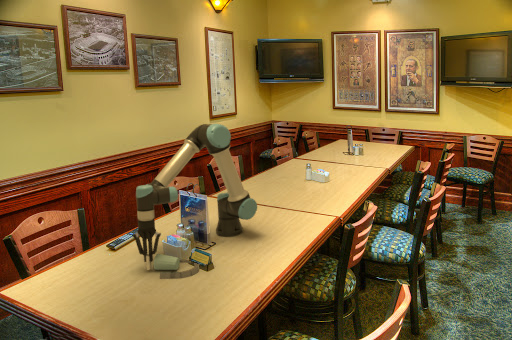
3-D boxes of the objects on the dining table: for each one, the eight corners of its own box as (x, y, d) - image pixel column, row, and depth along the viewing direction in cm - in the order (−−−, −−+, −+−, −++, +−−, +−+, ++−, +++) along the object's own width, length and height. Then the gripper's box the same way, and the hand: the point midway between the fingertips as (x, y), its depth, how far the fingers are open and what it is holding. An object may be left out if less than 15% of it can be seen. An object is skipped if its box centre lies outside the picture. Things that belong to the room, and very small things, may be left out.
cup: (173, 272, 202) (152, 270, 204) (179, 271, 209) (158, 269, 211) (175, 256, 203) (154, 253, 205) (181, 255, 210) (160, 253, 212)
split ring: (201, 263, 215) (201, 258, 215) (195, 277, 197) (195, 272, 197) (168, 264, 215) (168, 260, 215) (160, 278, 197) (159, 273, 197)
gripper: (162, 216, 207) (164, 265, 210) (134, 217, 207) (137, 266, 210) (158, 220, 199) (160, 271, 202) (129, 221, 200) (132, 271, 203)
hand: (149, 268), depth 206 cm, fingers closed
